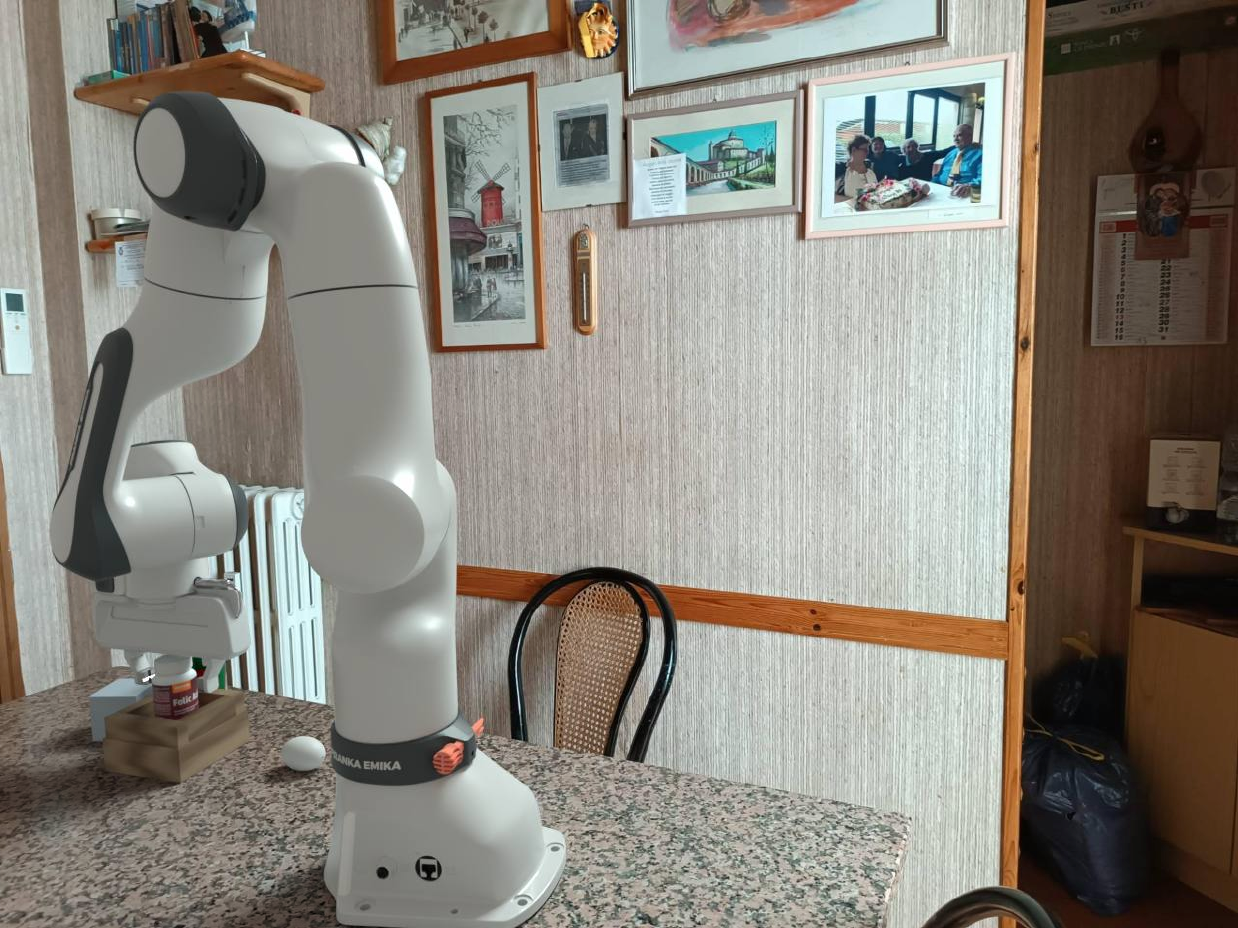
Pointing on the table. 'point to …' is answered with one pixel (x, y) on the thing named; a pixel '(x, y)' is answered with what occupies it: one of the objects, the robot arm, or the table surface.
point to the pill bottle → (174, 687)
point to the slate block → (114, 702)
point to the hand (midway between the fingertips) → (176, 687)
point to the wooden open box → (175, 737)
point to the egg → (303, 753)
